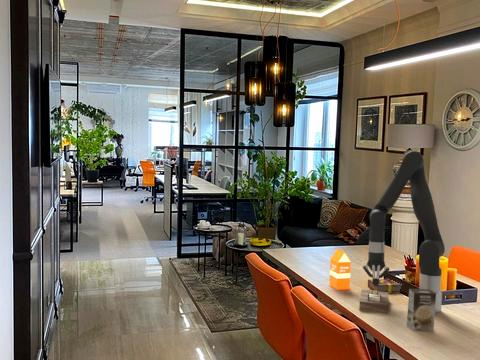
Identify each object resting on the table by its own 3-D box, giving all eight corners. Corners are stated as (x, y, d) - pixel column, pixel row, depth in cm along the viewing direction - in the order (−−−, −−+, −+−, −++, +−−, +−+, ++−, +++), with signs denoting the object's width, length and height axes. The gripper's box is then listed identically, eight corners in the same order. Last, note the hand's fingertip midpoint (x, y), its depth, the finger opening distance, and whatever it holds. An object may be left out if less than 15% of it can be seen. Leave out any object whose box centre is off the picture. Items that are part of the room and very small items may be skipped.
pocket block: (360, 297, 238) (361, 289, 238) (388, 300, 234) (388, 292, 234) (359, 310, 219) (359, 301, 219) (388, 313, 216) (389, 304, 215)
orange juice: (336, 289, 250) (338, 252, 248) (329, 284, 258) (330, 248, 257) (349, 288, 252) (351, 251, 250) (342, 284, 260) (343, 248, 259)
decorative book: (367, 287, 257) (367, 278, 257) (395, 286, 259) (395, 277, 259) (375, 293, 246) (376, 284, 245) (405, 293, 248) (405, 283, 248)
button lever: (372, 299, 233) (372, 290, 234) (376, 299, 233) (376, 290, 233) (372, 302, 224) (372, 292, 225) (376, 302, 224) (376, 293, 224)
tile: (369, 298, 230) (369, 293, 231) (379, 299, 229) (380, 295, 229) (368, 301, 221) (368, 296, 221) (379, 302, 220) (380, 298, 220)
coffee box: (412, 331, 195) (414, 293, 194) (406, 325, 202) (408, 288, 201) (434, 331, 196) (436, 293, 194) (427, 325, 202) (429, 288, 201)
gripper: (390, 250, 232) (389, 284, 233) (362, 248, 236) (361, 282, 237) (391, 253, 225) (390, 289, 226) (362, 251, 228) (361, 286, 229)
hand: (375, 285), depth 231 cm, fingers closed
